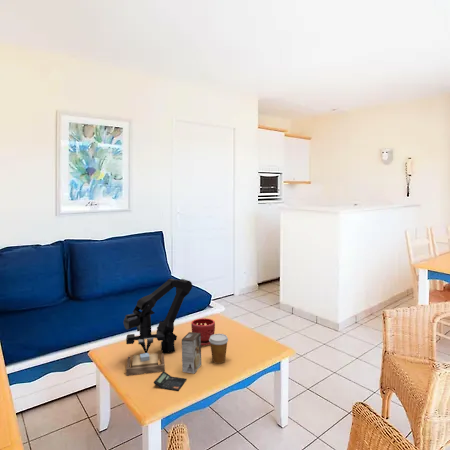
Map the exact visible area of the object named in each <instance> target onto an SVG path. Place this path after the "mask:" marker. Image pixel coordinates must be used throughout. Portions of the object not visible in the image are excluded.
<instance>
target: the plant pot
mask: <svg viewBox="0 0 450 450" xmlns="http://www.w3.org/2000/svg"><path fill="white" fill-rule="evenodd" d="M190 325H191V332H194V333H201V347H204V346H205V347H206V346H209V345H210V341H209V339H210V336H211V335H213V334H215V331H216V322H215V320H214V319H211V318H206V317H205V318H204V317H203V318H197V319H194V320H192V321H191V323H190Z"/></svg>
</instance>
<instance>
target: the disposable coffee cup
mask: <svg viewBox="0 0 450 450" xmlns="http://www.w3.org/2000/svg"><path fill="white" fill-rule="evenodd" d="M209 341H210V344H209V345H210V351H211V357H212V362H213V363H214V364H223V363H225V362H226V356H227V347H228V342H229V338H228V336H227V334H224V333H214V334H213V335H211V336H210V339H209Z"/></svg>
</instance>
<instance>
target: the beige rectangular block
mask: <svg viewBox="0 0 450 450" xmlns="http://www.w3.org/2000/svg"><path fill="white" fill-rule="evenodd" d="M149 358H150V360H148V361H142V362H141V359H140V354H138V355H135V354H134V355H133V356H132V360H131V361H132V362H131V368H133V367H142V366H151V365H159V352H157V353H149Z"/></svg>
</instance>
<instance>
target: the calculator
mask: <svg viewBox="0 0 450 450" xmlns="http://www.w3.org/2000/svg"><path fill="white" fill-rule="evenodd" d="M186 382H187V378H185V377H178V376H172V375H170V374H168V373H167V372H166V371H163V372H160V374H159V376H158V377H157V378H156V379H155V380H154V381H153V384H154V385H155V386H157V387H158V388H159V389H162V390H166V391H167V390H169V391H174V392H179V391H180V390H181V389H182V387H183V386H184V384H185V383H186Z"/></svg>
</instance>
